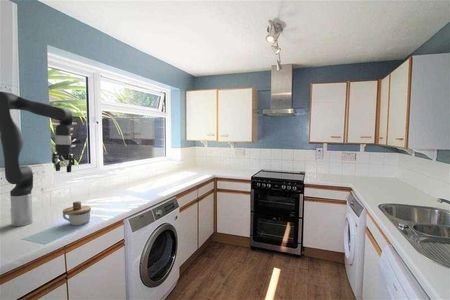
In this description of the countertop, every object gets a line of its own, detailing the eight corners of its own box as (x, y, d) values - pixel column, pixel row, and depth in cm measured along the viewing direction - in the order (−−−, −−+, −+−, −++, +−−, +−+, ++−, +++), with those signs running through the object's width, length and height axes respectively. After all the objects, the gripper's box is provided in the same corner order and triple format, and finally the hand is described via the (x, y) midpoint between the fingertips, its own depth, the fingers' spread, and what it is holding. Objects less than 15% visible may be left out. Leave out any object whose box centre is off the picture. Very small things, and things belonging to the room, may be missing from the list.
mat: (21, 240, 115) (21, 239, 115) (54, 228, 130) (54, 226, 130) (44, 246, 110) (44, 244, 110) (75, 232, 125) (75, 230, 125)
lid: (56, 213, 132) (56, 204, 132) (78, 206, 145) (78, 198, 145) (75, 216, 128) (74, 207, 128) (96, 208, 141) (96, 200, 141)
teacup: (94, 220, 143) (93, 207, 142) (84, 228, 132) (83, 214, 131) (70, 220, 142) (70, 207, 142) (58, 228, 131) (58, 214, 131)
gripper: (47, 143, 133) (47, 171, 134) (66, 144, 129) (66, 173, 130) (60, 142, 140) (60, 169, 141) (78, 144, 136) (78, 171, 137)
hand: (63, 171), depth 135 cm, fingers open, 8 cm apart
